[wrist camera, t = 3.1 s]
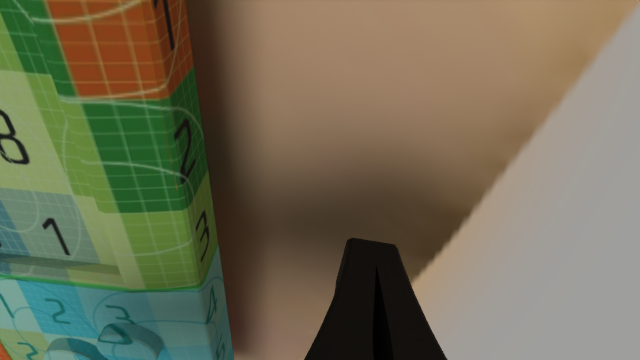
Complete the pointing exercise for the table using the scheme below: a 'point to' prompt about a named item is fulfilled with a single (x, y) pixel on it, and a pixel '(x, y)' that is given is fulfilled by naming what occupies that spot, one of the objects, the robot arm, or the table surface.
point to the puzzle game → (105, 187)
